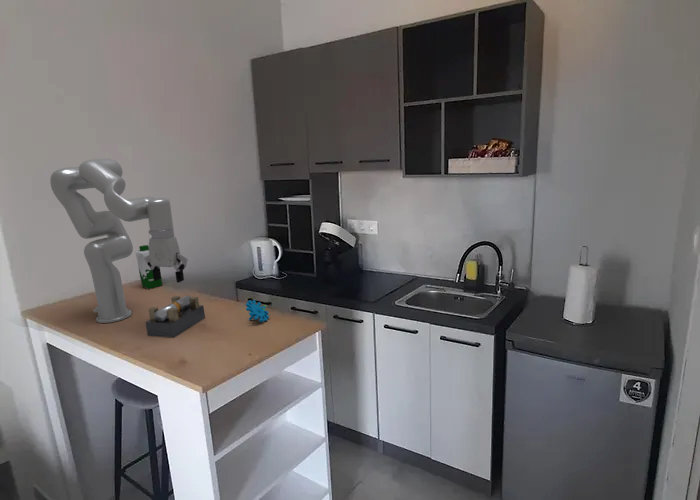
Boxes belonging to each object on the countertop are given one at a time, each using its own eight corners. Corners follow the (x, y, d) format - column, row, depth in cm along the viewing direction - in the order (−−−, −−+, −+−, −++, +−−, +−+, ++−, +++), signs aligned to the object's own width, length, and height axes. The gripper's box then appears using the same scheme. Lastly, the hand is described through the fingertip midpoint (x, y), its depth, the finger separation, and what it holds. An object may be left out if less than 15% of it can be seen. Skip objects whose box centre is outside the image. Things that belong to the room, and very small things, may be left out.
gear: (260, 322, 154) (242, 301, 156) (250, 333, 156) (233, 312, 158) (276, 315, 165) (259, 295, 166) (266, 325, 166) (250, 305, 168)
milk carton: (157, 282, 219) (150, 243, 215) (165, 285, 213) (158, 245, 208) (139, 287, 213) (132, 247, 208) (147, 290, 207) (140, 249, 202)
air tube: (165, 321, 151) (163, 310, 150) (155, 321, 152) (153, 310, 151) (193, 305, 166) (192, 295, 165) (184, 305, 167) (183, 295, 166)
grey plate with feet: (147, 335, 153) (143, 311, 151) (180, 316, 170) (177, 294, 168) (174, 337, 150) (169, 312, 148) (205, 317, 167) (201, 295, 165)
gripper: (134, 235, 151) (141, 282, 156) (176, 236, 146) (182, 285, 151) (149, 231, 158) (156, 276, 162) (190, 232, 153) (196, 278, 158)
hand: (168, 280), depth 157 cm, fingers open, 9 cm apart
